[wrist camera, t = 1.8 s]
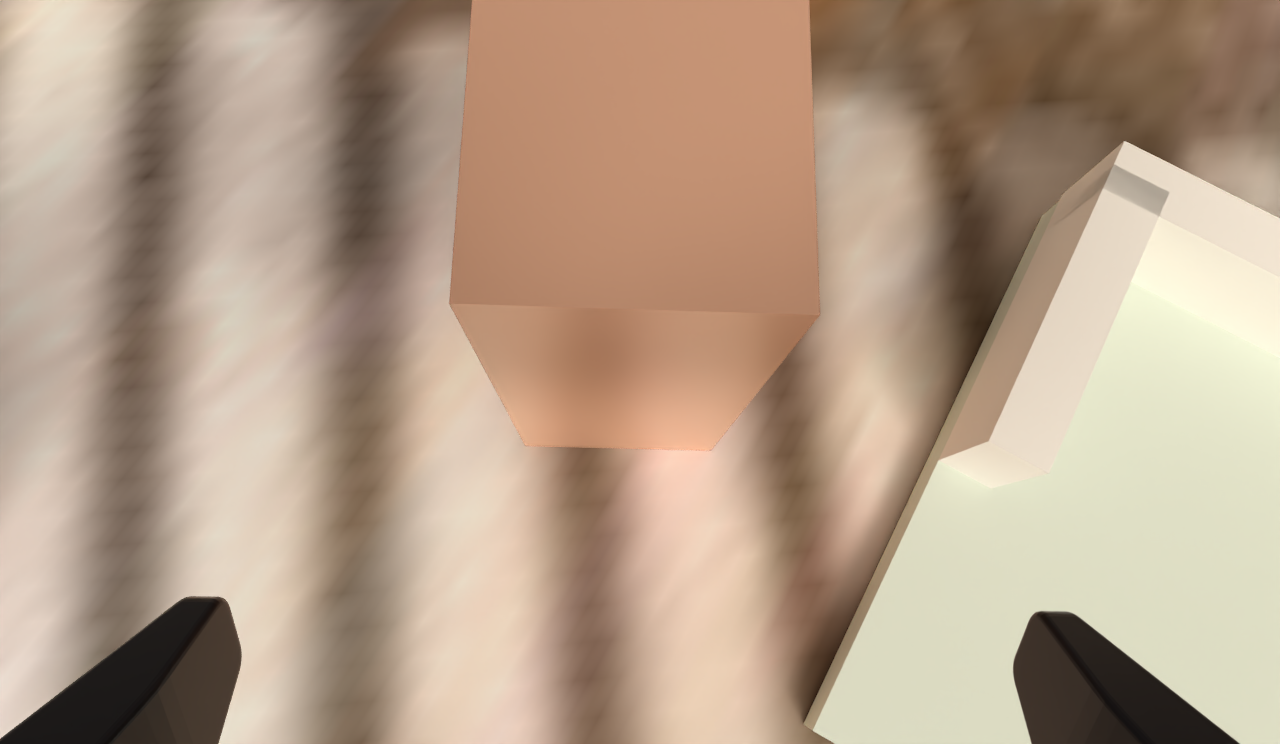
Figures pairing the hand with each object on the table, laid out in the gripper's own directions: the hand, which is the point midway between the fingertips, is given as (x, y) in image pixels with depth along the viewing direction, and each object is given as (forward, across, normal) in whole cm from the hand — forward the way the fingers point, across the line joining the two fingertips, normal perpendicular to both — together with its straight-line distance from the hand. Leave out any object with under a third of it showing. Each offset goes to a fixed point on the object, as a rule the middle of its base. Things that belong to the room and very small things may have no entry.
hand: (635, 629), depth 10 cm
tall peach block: (+14, 0, +4) cm, 15 cm away
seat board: (+10, -15, +8) cm, 20 cm away
